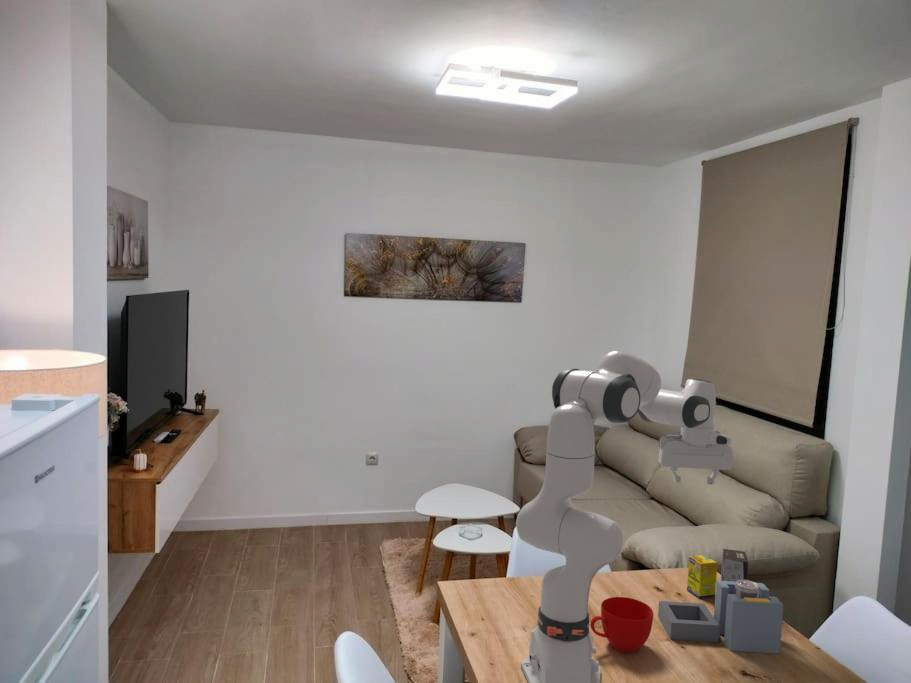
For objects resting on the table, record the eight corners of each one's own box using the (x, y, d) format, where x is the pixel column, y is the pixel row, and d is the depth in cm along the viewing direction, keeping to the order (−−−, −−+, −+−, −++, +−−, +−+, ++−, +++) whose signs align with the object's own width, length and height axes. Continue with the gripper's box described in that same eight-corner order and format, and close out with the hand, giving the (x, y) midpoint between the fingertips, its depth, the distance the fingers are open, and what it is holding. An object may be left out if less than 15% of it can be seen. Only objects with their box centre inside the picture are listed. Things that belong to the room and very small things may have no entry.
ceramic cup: (576, 639, 173) (578, 601, 172) (630, 630, 179) (633, 594, 178) (604, 665, 161) (606, 625, 160) (661, 655, 167) (664, 616, 166)
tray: (718, 642, 175) (719, 625, 174) (670, 639, 175) (671, 622, 175) (702, 619, 187) (704, 603, 187) (657, 616, 188) (658, 600, 187)
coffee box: (744, 617, 189) (748, 562, 188) (720, 613, 191) (724, 558, 190) (742, 604, 198) (746, 551, 197) (718, 600, 200) (722, 547, 199)
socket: (779, 653, 170) (783, 602, 169) (729, 650, 171) (733, 599, 170) (759, 629, 183) (763, 581, 182) (713, 626, 183) (716, 579, 182)
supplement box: (686, 590, 206) (688, 555, 205) (702, 588, 207) (705, 554, 207) (698, 599, 200) (701, 563, 199) (715, 597, 202) (717, 562, 201)
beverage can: (735, 630, 181) (739, 577, 180) (758, 638, 177) (762, 584, 176) (727, 638, 177) (731, 583, 176) (751, 647, 173) (755, 591, 172)
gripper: (662, 435, 187) (659, 484, 188) (736, 439, 186) (733, 488, 187) (657, 431, 193) (654, 478, 194) (728, 434, 192) (725, 481, 193)
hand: (693, 483), depth 190 cm, fingers open, 8 cm apart
